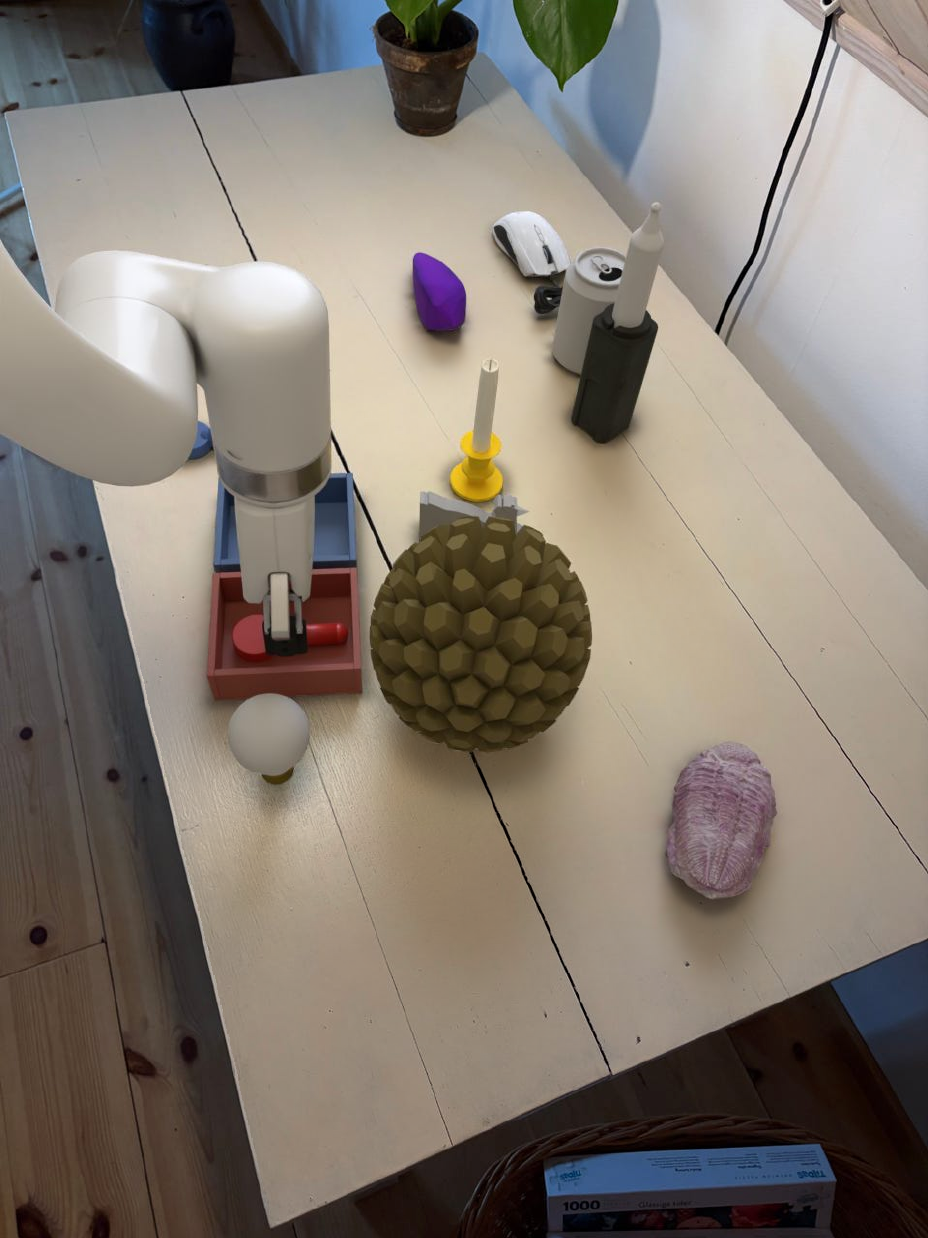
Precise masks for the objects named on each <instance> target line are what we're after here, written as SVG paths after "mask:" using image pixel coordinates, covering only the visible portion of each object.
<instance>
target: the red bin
mask: <svg viewBox="0 0 928 1238" xmlns="http://www.w3.org/2000/svg"><path fill="white" fill-rule="evenodd" d="M358 580H359V579H358V567H357V568H334V569H312V579H311V590H310V596H309V598H308V599H306V600H305V601H304V602H302V619H304V620H306V624H323V623H341V624H343V625H345V626H346V628H347V630H348V637H347V639H346V640H345V641H344V642H343V643H340V644H324V645H308V652H307V653H306V654H296V655H294V656H291V657H280V656H277V655H275V656H273V657H272V658H270V659H269V660H266V661H263V662H249V661H246V660H244V659H242V658H241V657H240V656H239V655H238V654H237V653H236V651H235V648H234V644H233V640H232V632H233V629H234V627H235V626H236V624H237V623H238V622H239V621H240V620H242V619H243V618H245V617H248V616H251V615H264V612H263V601H262V602H261V603H260V604H257V603H248V602H247V601H246V600H245V599H244V597H243V587H242V576H241V572H223V573H215V572H213V573H212V578H211V581H212V582H211V597H210V612H209V613H210V615H209V631H208V646H207V663H206V678H207V682H208V685H209V688H210V692H211V695H212V698H213V701H230V700H231V701H233V700H248V699H250V698H252V697H254V696H257V695H260V694H266V693H274V694H280V695H283V696H286V697H288V698H291V697H309V696H310V697H311V696H328V695H348V694H350V695H351V694H363V677H362V675H363V674H362V673H363V671H362V653H361V652H362V650H361V631H360V630H361V628H360V626H361V625H360V608H359V607H360V606H359V605H360V604H359V584H358V582H359V581H358ZM269 590H271V585H269ZM289 590H292V587H291V581H289ZM289 616H295V610H294V601H289Z"/></svg>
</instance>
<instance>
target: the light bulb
mask: <svg viewBox="0 0 928 1238" xmlns="http://www.w3.org/2000/svg"><path fill="white" fill-rule="evenodd" d="M310 740H311V726H310V722H309V719H308V716H307V714H306V712H305V711H304V709H303V708H302V707H301V706H300V705H299V704H298V703H297V702H296V701H295V700H293V699H292V698H291V697H286V696H283V695H280V694H274V693H266V694H260V695H257V696H254V697H252V698H250V699H245V700H244V701H243V702H242V703H241V704H240V705H239V706H238V707H237V708H236V709H235V711H234V712H233V715H232V716H231V718H230V721H229V724H228V728H227V742H228V746H229V748H230V752H231V753H232V755H233V757H234V759H235V760H236V761H237V762H238V763H239V764H240V765H241V766H242V767H243V768H244V769H246V770H248V771H250V772H252V773H255V774H258V775H261V778H262V780H263V781H264V782H266V783H267V784H270V785H274V786H275V785H276V786H278V785H282V784H285V783H287V782H288V781H289V780H290V779H291V778H292V777H293V774H294V771H295V766H296V765H297V764H298V763H299V762H300V761H301V760H302V758H303V757H304V756H305V754H306V752H307V750H308V747H309V744H310Z"/></svg>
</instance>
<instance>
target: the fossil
mask: <svg viewBox="0 0 928 1238" xmlns="http://www.w3.org/2000/svg"><path fill="white" fill-rule="evenodd" d="M677 778H678V779H677V781H676V783H675V785H674V786H673V789H674V793H673V794H672V795H673V796H672V800H671V801H672V802H671V807H672V814H673V818H674V819H673V823H672V824H671V825H670V826H669V827H668V829H667V833H668V835H667V839H666V840H667V841H666V850H665V856H666V858H667V861H668V865H669V866H668V867H669V871H670V873H671V874H673V875H674V876H675V877H676V878H679V879H681V880H683V882H684V883H685V885H687V886H688V887H689V888H691V889H693V890H695V891H696V892H697V893H698V894H701V895H703V896H704V897H705V898H708V899H711V900H713V901H720V900H723V899H726V898H731V897H736V896H739V895H740V896H741V894H743V893H745V892H746V891H747V890H749V889H752V888H751V885H752V884H753V883H754V881H755V874H757V872H758V871H759V867H760V865H761V863H762V860H763V858H764V853H765V851H764V850H765V849H766V848H769V847H771V831H772V828H773V827H772V826H773V825H774V821H775V820H774V819H775V817H776V816H777V815H778V810H777V801H776V796H775V795H776V794H775V790H774V787H773V786H772V774H771V773H770V771H769V770H768V768H767V767H766V766H764V765H763V764H762V763H761V759H760V758H759V757H758V755H757V753H755V751H754V750H752V749H751V748H749V747H748V746H747V745H745V744H743V743H739V742H736V741H727V742H722V743H719V744H715V745H714V747H712V748H709V749H707V748H706V749H704V750H701V752H700V753H699V754H698V755H696V756H694V757H693V758H692V759H691V760H690V761H689V762H688V763H687V764H686V765H685V767H683V769H682V770H681V771H680V773H679V775H678V777H677Z"/></svg>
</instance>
